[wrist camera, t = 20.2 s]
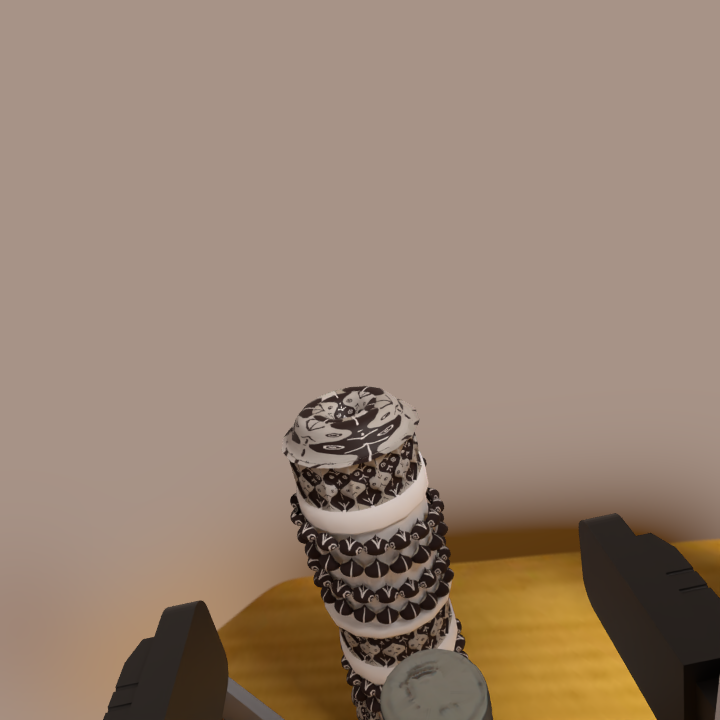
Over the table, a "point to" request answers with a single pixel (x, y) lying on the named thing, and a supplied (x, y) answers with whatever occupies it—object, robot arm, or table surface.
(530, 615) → the table surface
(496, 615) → the table surface
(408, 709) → the sauce bottle
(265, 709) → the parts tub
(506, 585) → the table surface
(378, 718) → the decorative candle
